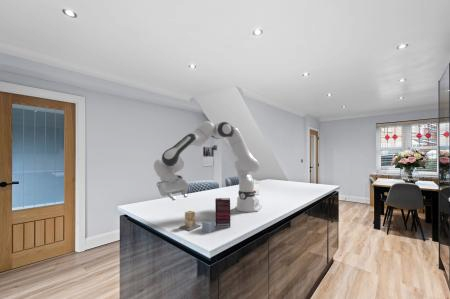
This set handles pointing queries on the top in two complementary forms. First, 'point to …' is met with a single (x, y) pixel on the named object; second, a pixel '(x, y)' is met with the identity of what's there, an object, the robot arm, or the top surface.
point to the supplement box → (222, 212)
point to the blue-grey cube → (208, 226)
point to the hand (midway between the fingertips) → (180, 198)
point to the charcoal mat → (190, 228)
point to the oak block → (189, 219)
